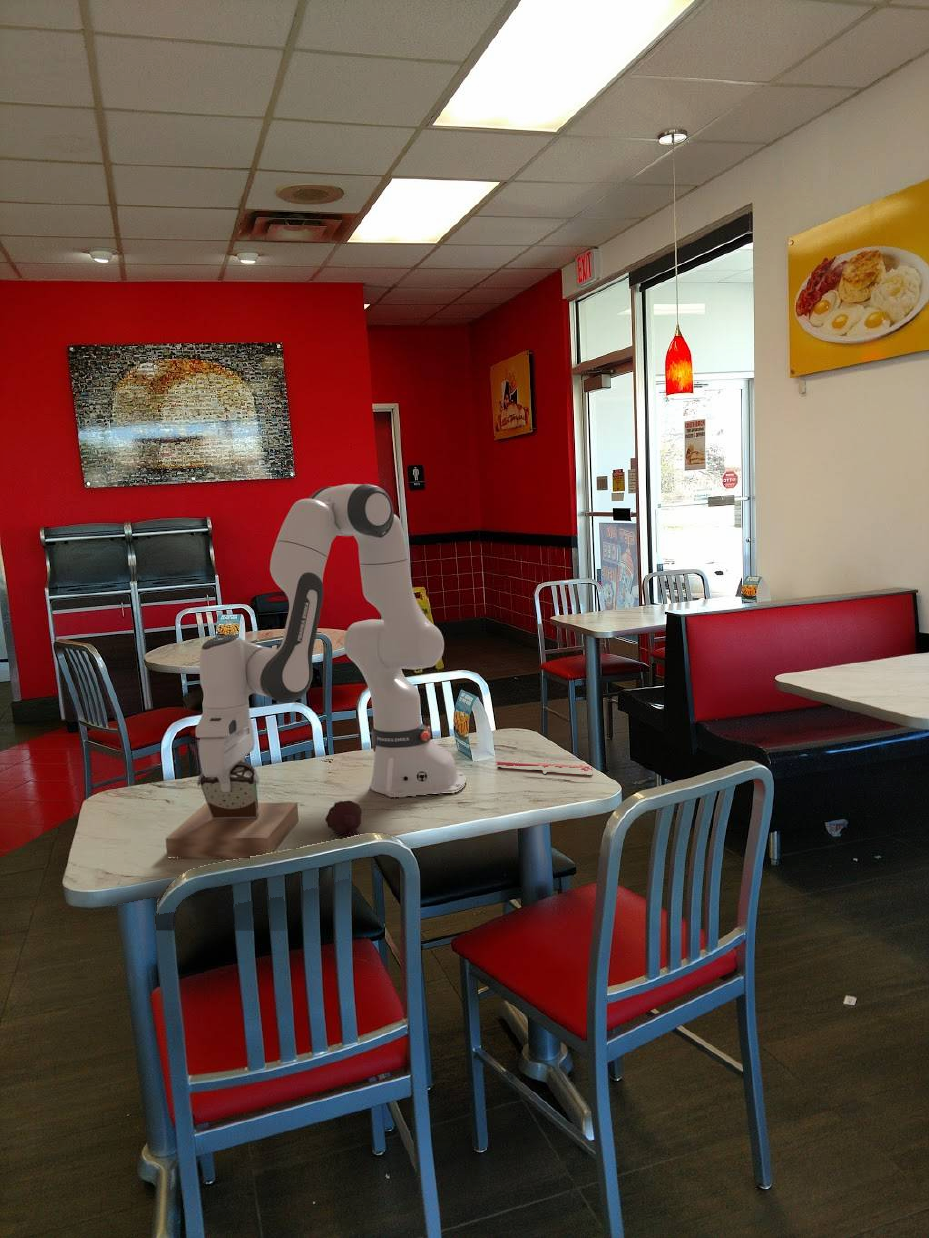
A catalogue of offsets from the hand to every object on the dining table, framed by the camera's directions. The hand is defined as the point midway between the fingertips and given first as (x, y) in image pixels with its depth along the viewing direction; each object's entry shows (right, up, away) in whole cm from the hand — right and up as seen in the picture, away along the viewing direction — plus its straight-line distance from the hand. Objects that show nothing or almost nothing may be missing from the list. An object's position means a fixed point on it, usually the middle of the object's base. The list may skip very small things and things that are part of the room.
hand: (232, 785), depth 180 cm
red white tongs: (+65, -4, +37) cm, 75 cm away
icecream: (+22, -10, +2) cm, 25 cm away
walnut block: (0, -11, +1) cm, 11 cm away
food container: (0, -6, +4) cm, 7 cm away
